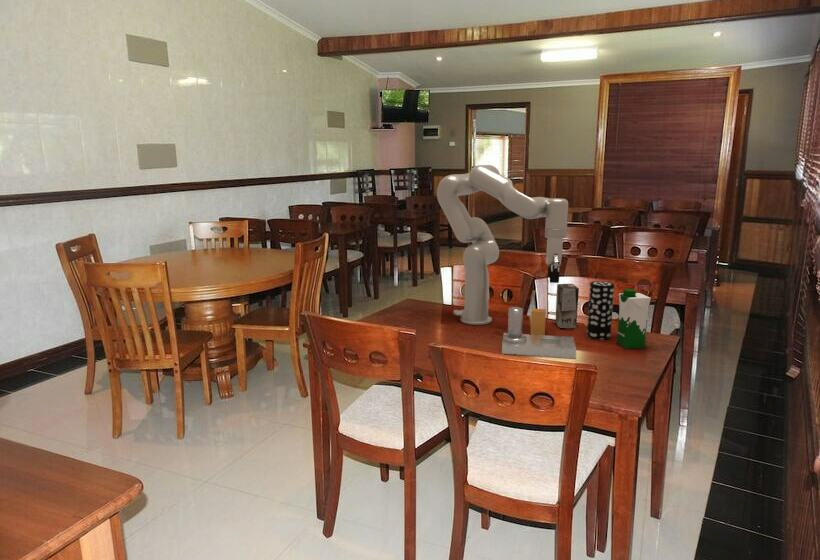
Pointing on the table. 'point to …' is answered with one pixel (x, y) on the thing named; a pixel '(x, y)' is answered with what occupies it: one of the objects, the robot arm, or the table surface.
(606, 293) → the white-spotted black cylinder
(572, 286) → the coffee box
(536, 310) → the tan upright block
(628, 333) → the milk carton
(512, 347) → the grey base with post
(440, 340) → the table surface
